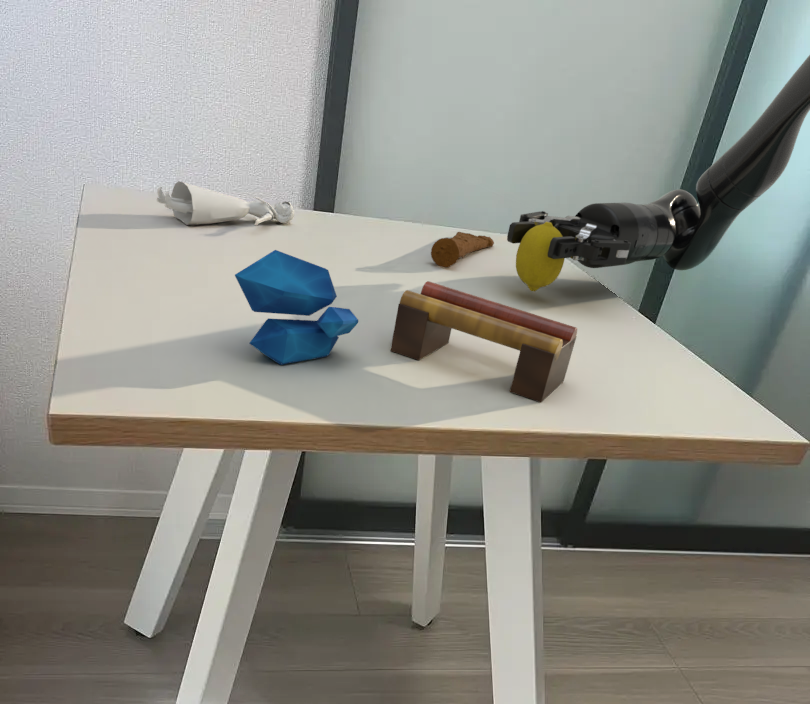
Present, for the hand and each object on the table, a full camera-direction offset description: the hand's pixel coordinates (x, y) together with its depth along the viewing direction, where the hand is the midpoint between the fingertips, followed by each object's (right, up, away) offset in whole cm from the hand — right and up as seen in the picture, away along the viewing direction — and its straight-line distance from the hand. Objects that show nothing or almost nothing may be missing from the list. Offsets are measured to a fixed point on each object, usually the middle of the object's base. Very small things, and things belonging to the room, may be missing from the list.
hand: (531, 240), depth 101 cm
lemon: (+1, -5, +5) cm, 7 cm away
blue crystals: (-24, -18, -23) cm, 38 cm away
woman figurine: (-36, +6, +11) cm, 38 cm away
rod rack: (-8, -18, -17) cm, 26 cm away
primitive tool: (-7, +4, +18) cm, 20 cm away
